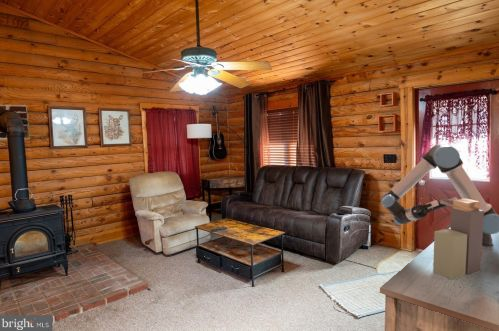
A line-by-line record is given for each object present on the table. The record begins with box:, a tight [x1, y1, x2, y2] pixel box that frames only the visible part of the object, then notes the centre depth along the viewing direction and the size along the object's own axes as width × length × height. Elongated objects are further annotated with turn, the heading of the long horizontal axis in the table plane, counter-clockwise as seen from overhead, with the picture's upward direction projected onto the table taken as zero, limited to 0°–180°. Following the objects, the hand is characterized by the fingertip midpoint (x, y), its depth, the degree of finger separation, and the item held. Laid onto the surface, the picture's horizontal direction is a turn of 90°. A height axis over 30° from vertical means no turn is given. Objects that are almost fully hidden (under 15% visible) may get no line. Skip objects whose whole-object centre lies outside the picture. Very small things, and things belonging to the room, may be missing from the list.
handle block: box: [439, 198, 479, 212], centre depth 157 cm, size 8×16×4 cm, turn 20°
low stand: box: [432, 228, 467, 280], centre depth 151 cm, size 9×10×20 cm
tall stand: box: [449, 207, 484, 276], centre depth 154 cm, size 9×10×30 cm
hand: (447, 200), depth 161 cm, fingers open, 13 cm apart
